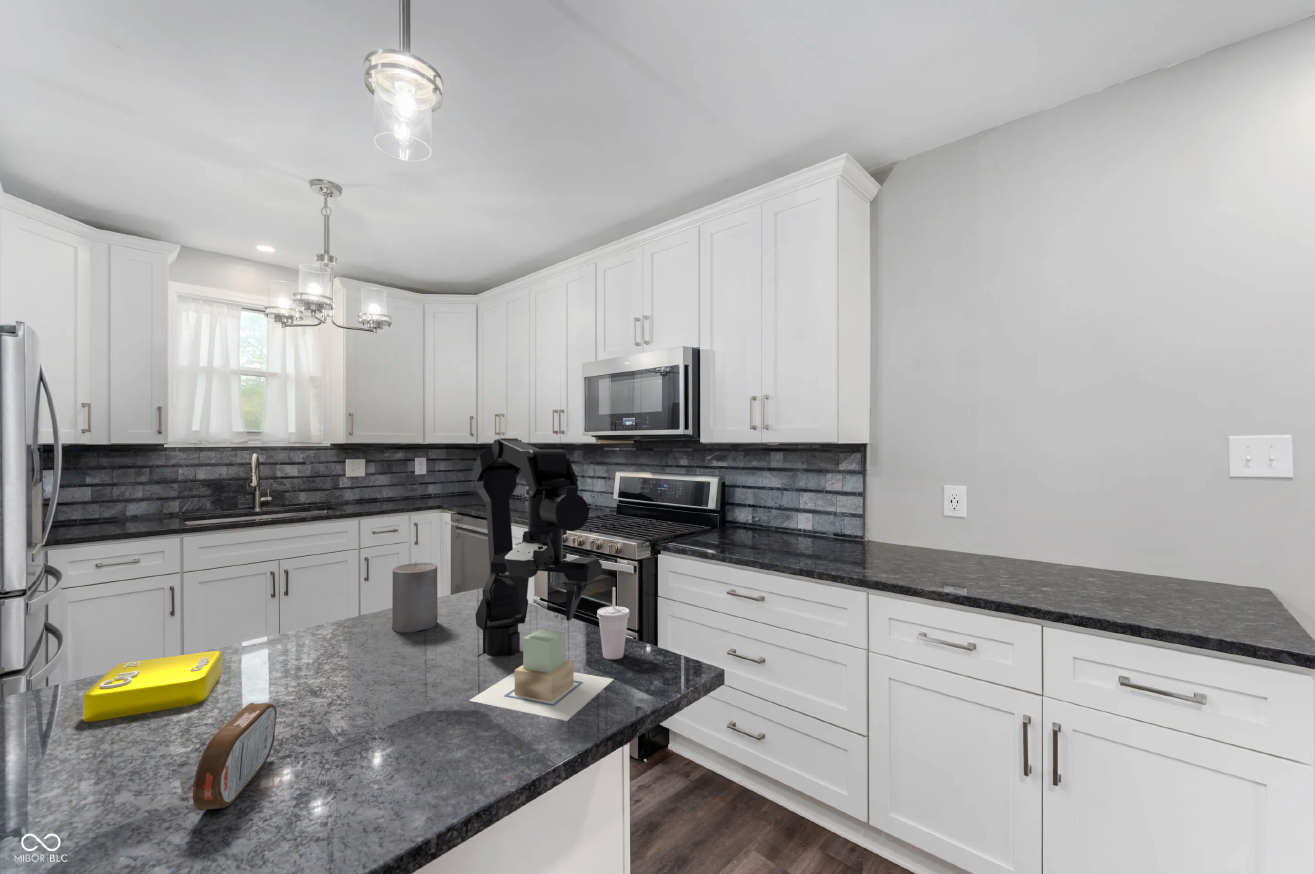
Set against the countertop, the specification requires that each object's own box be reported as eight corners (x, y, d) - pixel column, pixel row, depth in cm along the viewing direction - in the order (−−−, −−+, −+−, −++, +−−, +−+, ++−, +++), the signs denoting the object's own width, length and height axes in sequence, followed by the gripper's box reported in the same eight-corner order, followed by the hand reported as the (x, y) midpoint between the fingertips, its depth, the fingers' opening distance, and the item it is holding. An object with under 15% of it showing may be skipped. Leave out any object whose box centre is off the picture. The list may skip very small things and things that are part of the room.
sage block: (523, 668, 92) (523, 637, 92) (540, 657, 96) (540, 628, 97) (549, 672, 90) (549, 641, 90) (565, 661, 95) (565, 632, 95)
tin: (254, 754, 75) (255, 691, 75) (280, 751, 76) (281, 689, 76) (188, 828, 60) (189, 750, 61) (221, 824, 61) (222, 747, 61)
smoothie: (631, 654, 111) (632, 584, 112) (627, 667, 105) (627, 592, 105) (600, 653, 112) (600, 583, 112) (593, 666, 106) (593, 592, 106)
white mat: (468, 706, 89) (468, 699, 89) (526, 669, 104) (526, 663, 104) (566, 727, 82) (566, 719, 82) (614, 684, 97) (614, 678, 97)
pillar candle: (406, 618, 135) (406, 556, 135) (445, 619, 134) (445, 557, 134) (383, 632, 125) (382, 565, 125) (424, 633, 124) (424, 566, 124)
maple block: (514, 694, 91) (514, 669, 91) (538, 677, 98) (538, 655, 98) (551, 701, 89) (551, 676, 89) (573, 684, 95) (573, 660, 95)
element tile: (203, 705, 90) (204, 675, 90) (76, 726, 83) (77, 694, 83) (224, 672, 103) (224, 646, 104) (115, 688, 96) (116, 660, 97)
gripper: (468, 527, 90) (467, 624, 89) (569, 533, 83) (569, 639, 82) (510, 519, 100) (509, 606, 100) (603, 524, 93) (603, 618, 93)
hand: (545, 617), depth 93 cm, fingers open, 9 cm apart
